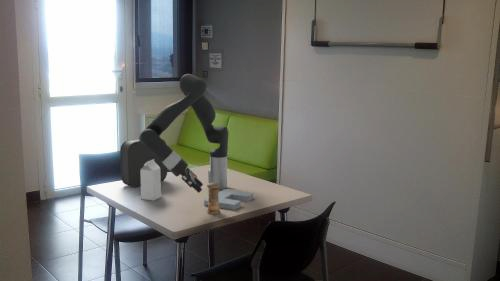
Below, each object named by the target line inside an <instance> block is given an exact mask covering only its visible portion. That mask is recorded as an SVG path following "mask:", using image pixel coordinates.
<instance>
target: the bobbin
mask: <svg viewBox="0 0 500 281" xmlns="http://www.w3.org/2000/svg"><path fill="white" fill-rule="evenodd" d="M206 187H207V188H208V198H209V200H208V206H207V214H209V215H218V214H220V211H221V210H220V208H219V200H218V193H219V189H218V188H219V187H220V184H219V183H207V185H206Z"/></svg>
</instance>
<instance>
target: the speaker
mask: <svg viewBox="0 0 500 281" xmlns="http://www.w3.org/2000/svg"><path fill="white" fill-rule="evenodd" d="M161 139H162V140H163V141H164V143H165V144H166V145H167V143H166V141H165V140H164V138H161ZM119 150H120V152H119V154H120V156H119V157H120V179H121V181H122V183H123V184H125V185H127V186H131V187H132V188H141V174H140V170H141V169H142V168H143V167H144V164H145V163H146V162H148V161H151V160H153V159H154V162H155V163H156V164H157V165H158V166H159V167H160V175H161V183H162V182H164V181H165V179H166V178H167V176H168V168H167V167H166V166H165V165H164V164H163V163H162V162H161V161H160V160H159V159H158V158H157V157H156V156H155V154H154V152H153V151H152V150H151V149H150V148H149V147H148V146H144V145H142V144H141V143H140V140H139V138H132V139H127V140H125V141H124V142H123V143H122V144H121V146H120V149H119Z"/></svg>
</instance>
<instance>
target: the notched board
mask: <svg viewBox="0 0 500 281" xmlns="http://www.w3.org/2000/svg"><path fill="white" fill-rule="evenodd" d="M254 198H255V193H254V192H252V191H251V192H250V191H249V192H248V191H244V190H243V191H242V190H235V189H227V188H225V189H222V190H220V191H218V200H219V209H225V210H226V209H227V210H231V211H236V210H237V209H239V208H240V207H241V206H242V202H250V201H251V200H253V199H254ZM208 200H209V197H207V198H205V199H204V200H203V205H204V206H207V207H208Z"/></svg>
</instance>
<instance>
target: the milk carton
mask: <svg viewBox="0 0 500 281" xmlns="http://www.w3.org/2000/svg"><path fill="white" fill-rule="evenodd" d="M140 174H141V187H140V199H141V200H147V201H156V200H159V199H160V198H161V196H162V188H161V186H162V182H161V175H160V167H159V166H158V165H157V164H156V163H155V162H154V159H153V160H151V161H148V162H146V163H145V164H144V167H143V168H142V169H141V170H140Z"/></svg>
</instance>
